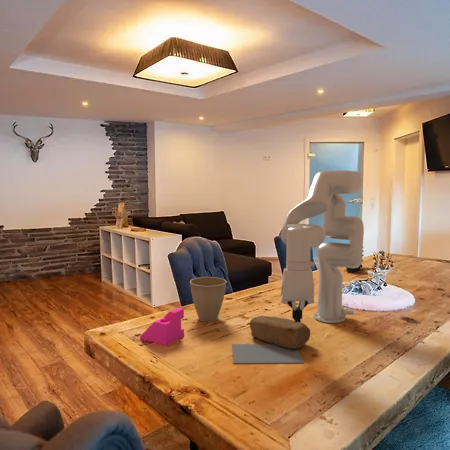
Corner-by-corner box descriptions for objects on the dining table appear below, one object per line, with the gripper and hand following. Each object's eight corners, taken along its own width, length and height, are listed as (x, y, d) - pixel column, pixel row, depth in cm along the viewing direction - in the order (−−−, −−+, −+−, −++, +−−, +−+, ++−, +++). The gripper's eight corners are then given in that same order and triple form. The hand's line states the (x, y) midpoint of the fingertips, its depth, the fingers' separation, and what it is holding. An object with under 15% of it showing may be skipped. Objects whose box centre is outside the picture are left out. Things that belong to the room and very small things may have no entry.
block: (294, 329, 126) (247, 318, 140) (294, 352, 126) (247, 338, 140) (312, 321, 134) (266, 311, 148) (312, 343, 134) (266, 330, 148)
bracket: (184, 335, 143) (183, 308, 141) (166, 346, 134) (165, 317, 133) (158, 329, 149) (158, 303, 148) (140, 338, 140) (139, 311, 139)
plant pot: (197, 327, 150) (197, 287, 148) (185, 315, 164) (185, 278, 162) (232, 322, 156) (232, 283, 154) (218, 311, 170) (218, 275, 168)
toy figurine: (352, 269, 259) (338, 272, 239) (353, 240, 258) (340, 242, 238) (366, 270, 253) (353, 274, 233) (368, 242, 253) (355, 243, 233)
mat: (295, 344, 134) (295, 343, 134) (304, 363, 120) (304, 362, 120) (232, 345, 134) (232, 344, 134) (233, 363, 120) (233, 362, 120)
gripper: (318, 262, 128) (317, 316, 130) (273, 263, 128) (272, 317, 130) (324, 267, 120) (323, 324, 122) (276, 268, 120) (275, 325, 122)
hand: (297, 320), depth 126 cm, fingers closed
